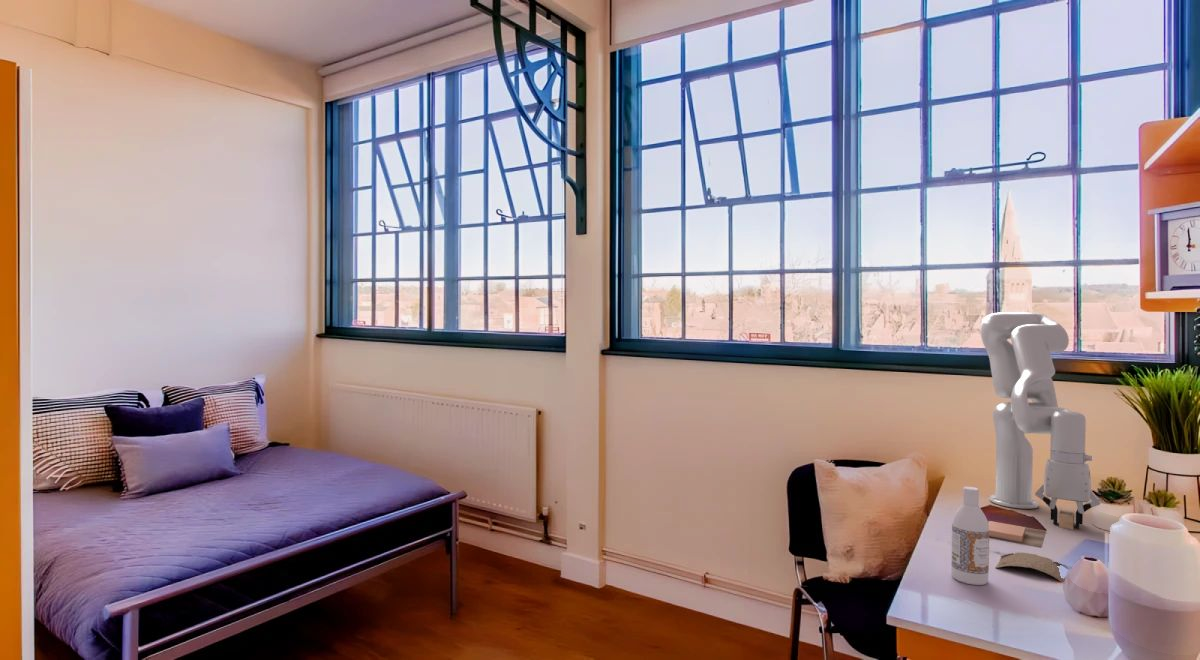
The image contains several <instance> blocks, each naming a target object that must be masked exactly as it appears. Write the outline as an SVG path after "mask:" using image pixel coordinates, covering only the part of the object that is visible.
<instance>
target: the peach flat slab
mask: <svg viewBox="0 0 1200 660" xmlns="http://www.w3.org/2000/svg"><path fill="white" fill-rule="evenodd" d="M988 521H989V523H988V525H989V536H990V537H996V538H1001V539H1006V540H1011V541H1017V542H1022V541H1023V538H1024V535H1025V530H1026V526H1021V525H1016V524H1010V523H1009V524H1008V523H1004V522H996V521H993V520H988Z"/></svg>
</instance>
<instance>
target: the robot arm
mask: <svg viewBox="0 0 1200 660" xmlns="http://www.w3.org/2000/svg"><path fill="white" fill-rule="evenodd" d="M980 336H981V337H980V338H981V340H982V343H983V347H984V348H985V350H986V352H987V355H988V358H989V366H990V372H991V377H992V383H993V388H994V391H995V393H996V395H997V396H999V397H1000V398H1003V399H1010V402H1009V401H1008V402H1006V401H1005V402H1002V403H999V404H997V405H996V406H995V407H994V409H993V411H992V419H993V420H992V421H993V424H994V431H995V452H996V454H995V493H994V494H991V495H989V501H990V502H992V503H994V504H996V505H999V506H1003V507H1007V508H1013V509H1023V510H1024V509H1026V510H1027V509H1028V510H1030V509H1036V508H1038V507H1039V503H1038V501H1037V500H1034V499H1033V465H1034V464H1033V463H1034V461H1033V459H1034V458H1033V457H1034V456H1033V453H1034V452H1033V451H1034V450H1033V447H1032V445H1031V442H1030V441H1029V440H1028V439H1027V437H1026V436H1025V434H1035V435H1036V434H1040V435H1045V434H1047V435H1050V450H1049V451H1050V455H1049V456H1050V457H1049V459H1047V460H1046V463H1045V469H1044V476H1043V477H1044V479H1043V484H1042V485H1041V486H1040V487H1039V488H1038V489H1037V490H1036V491H1035V492H1034V493H1035V494H1034V495H1035V496H1036V497H1037V498H1039V499H1040V500H1041V501H1043V502H1044V503H1045V504H1046V505H1047V506H1048V507H1049V508H1050V520H1051V521H1053V524H1054V525H1057V524H1058V509H1059V508H1058V507H1057V505H1056V504H1057V500H1064V501H1065V500H1066V501H1073V502H1075V504H1076V508H1077V509H1076V511H1075V528H1077V529H1080V525H1081V526H1082V525H1083V524H1084V523H1083V519H1084V518H1083V517H1084V513H1085V512H1087V511H1088V510H1090V509H1091V508H1096V507H1097V506H1099V505H1100V504H1101V501H1100V500H1099V498H1098V497H1097V496H1096V495H1095V493H1094V492H1093V491H1092V482H1091V481H1092V479H1091V471H1090V466H1089V463H1086V462H1089V461H1091V462H1092V461H1093V455H1088V454H1087V453H1086V432H1087V431H1086V428H1087V427H1086V426H1087V420H1086V416H1085V414H1083V413H1081V412H1078V411H1077V412H1076V411H1072V410H1070V409H1069V408H1065V407H1059V403H1058V400H1057V399H1058V398H1057V394H1056V388H1055V384H1054V381H1053V377H1054V376H1055V374H1056V368H1055V365H1054V362H1053V358H1052V356H1051V353H1056V354H1057V353H1063V352H1064V351H1066V350H1067V348H1068V346H1069V344H1070V343H1069V342H1070V339H1069V338H1070V337H1069V335H1068V333H1067V331H1066V330H1065V328H1064V327H1063V326H1062V325H1061V324H1060V323H1058V322H1057V321H1056V320H1054V319H1052V318H1051V317H1049V316H1047V315H1046V314H1043V313H1040V312H1018V311H1017V312H1016V311H1015V312H1014V311H1012V312H1010V311H1007V312H1006V311H1005V312H1004V311H1003V312H994V313H990V314H988V315H986V316H985V317H984V318H983V319H982V322H981V324H980ZM1009 340H1011V342H1010V341H1009ZM1029 400H1031V401H1032V402H1029ZM1090 500H1091V501H1090ZM1084 503H1085V504H1084Z"/></svg>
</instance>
